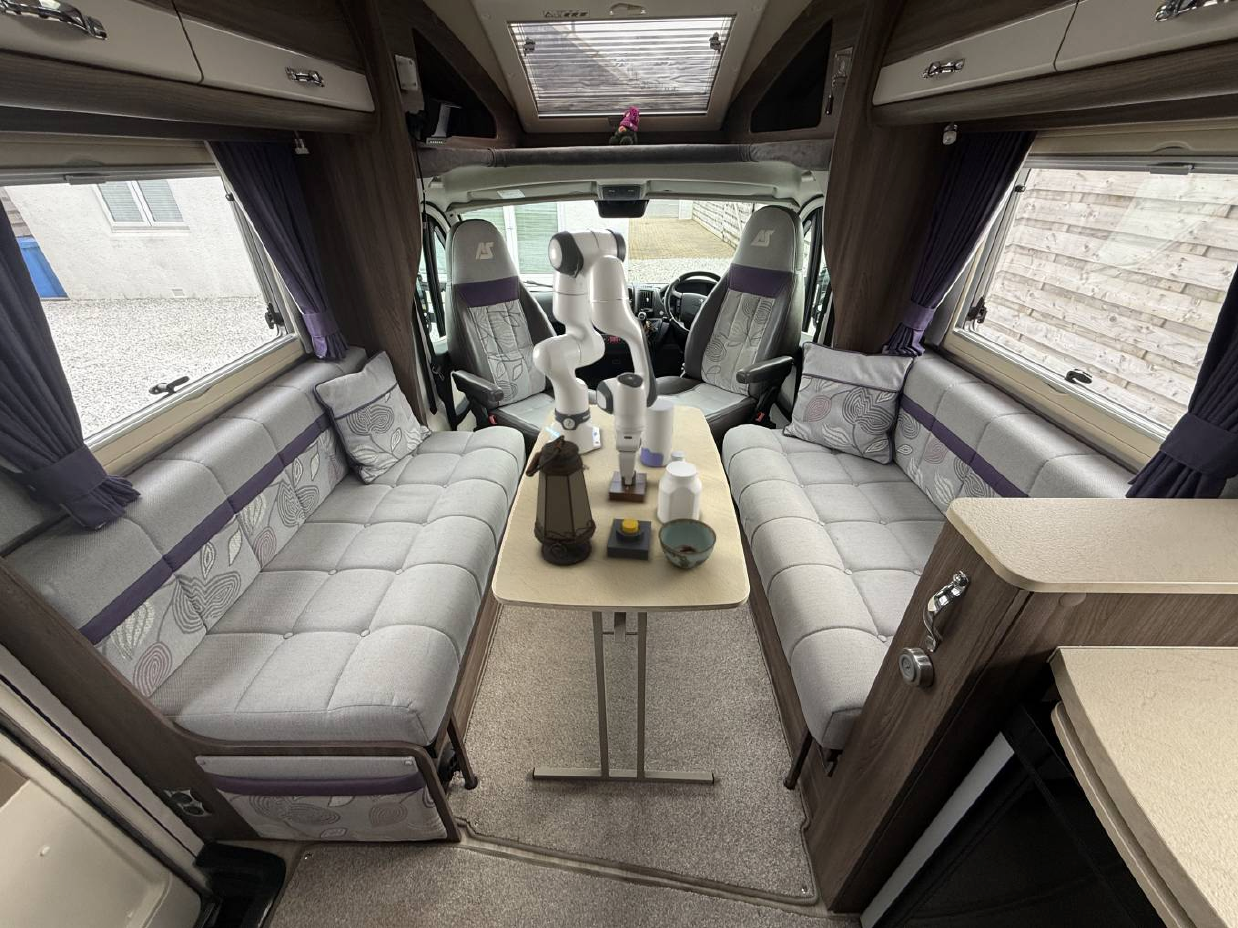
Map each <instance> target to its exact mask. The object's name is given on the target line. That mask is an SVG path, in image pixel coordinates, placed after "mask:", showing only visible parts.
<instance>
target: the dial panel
mask: <svg viewBox="0 0 1238 928" xmlns="http://www.w3.org/2000/svg"><path fill="white" fill-rule="evenodd" d="M647 478H648V474H647V473H646V472H636V483H635V484H634V485H632V486H625V485H623V484H622V483H621V475H620V472H619V471H615V470H614V471H613V475H612V480H611V483H610V487H609V490H608V500H609V501H611V502H625V503H639V504H644V502H645V495H646V489H647V488H646V487H647Z"/></svg>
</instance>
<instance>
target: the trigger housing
mask: <svg viewBox="0 0 1238 928" xmlns="http://www.w3.org/2000/svg"><path fill="white" fill-rule="evenodd" d="M626 519H627V518H613V519H612V524H611V529H610V533H609V537H608V541H607V546H606V556H607V558H615V559H626V560H638V561H649V553H650V543H651V536H652V535H651V534H652V521H651V520H641V519H638V520H637V519H635V520H636V521H637V522H638V531H637V532H636V533H625V532H624V531H623V530H622V522H623V521H624V520H626Z"/></svg>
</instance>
